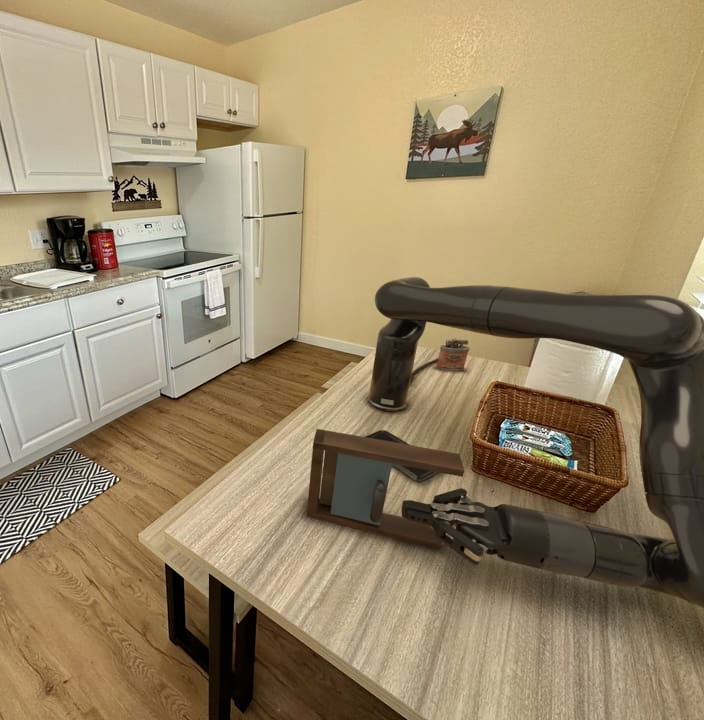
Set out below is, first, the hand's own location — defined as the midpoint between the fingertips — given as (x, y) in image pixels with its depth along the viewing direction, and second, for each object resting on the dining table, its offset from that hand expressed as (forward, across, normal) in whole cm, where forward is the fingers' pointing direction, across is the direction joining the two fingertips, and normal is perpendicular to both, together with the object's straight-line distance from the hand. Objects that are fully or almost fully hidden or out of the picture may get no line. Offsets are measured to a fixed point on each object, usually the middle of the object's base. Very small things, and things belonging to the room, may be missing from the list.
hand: (402, 508), depth 58 cm
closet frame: (+3, -4, +8) cm, 9 cm away
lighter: (-19, -76, +8) cm, 78 cm away
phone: (-2, -25, +8) cm, 26 cm away
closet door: (+6, -1, +7) cm, 9 cm away
